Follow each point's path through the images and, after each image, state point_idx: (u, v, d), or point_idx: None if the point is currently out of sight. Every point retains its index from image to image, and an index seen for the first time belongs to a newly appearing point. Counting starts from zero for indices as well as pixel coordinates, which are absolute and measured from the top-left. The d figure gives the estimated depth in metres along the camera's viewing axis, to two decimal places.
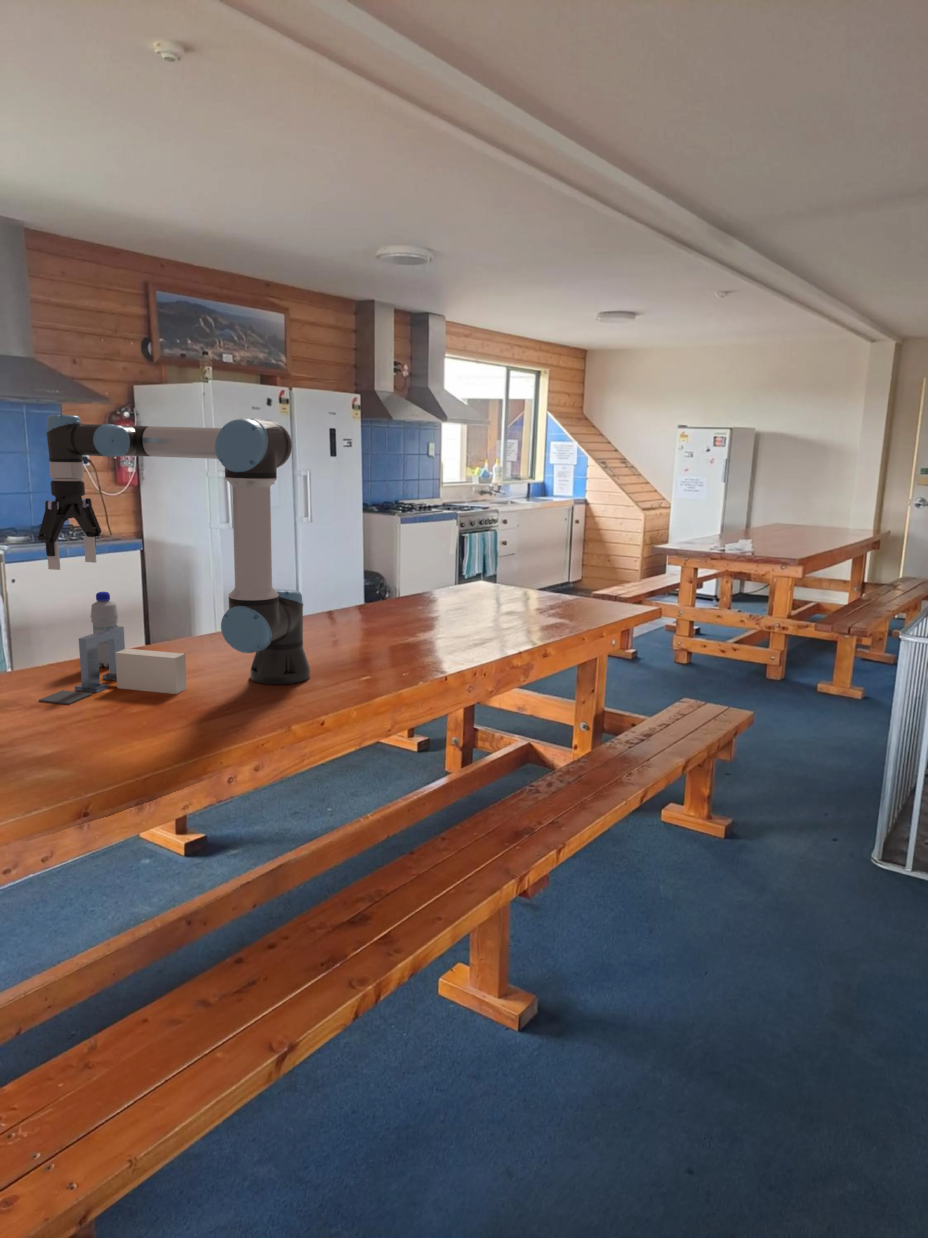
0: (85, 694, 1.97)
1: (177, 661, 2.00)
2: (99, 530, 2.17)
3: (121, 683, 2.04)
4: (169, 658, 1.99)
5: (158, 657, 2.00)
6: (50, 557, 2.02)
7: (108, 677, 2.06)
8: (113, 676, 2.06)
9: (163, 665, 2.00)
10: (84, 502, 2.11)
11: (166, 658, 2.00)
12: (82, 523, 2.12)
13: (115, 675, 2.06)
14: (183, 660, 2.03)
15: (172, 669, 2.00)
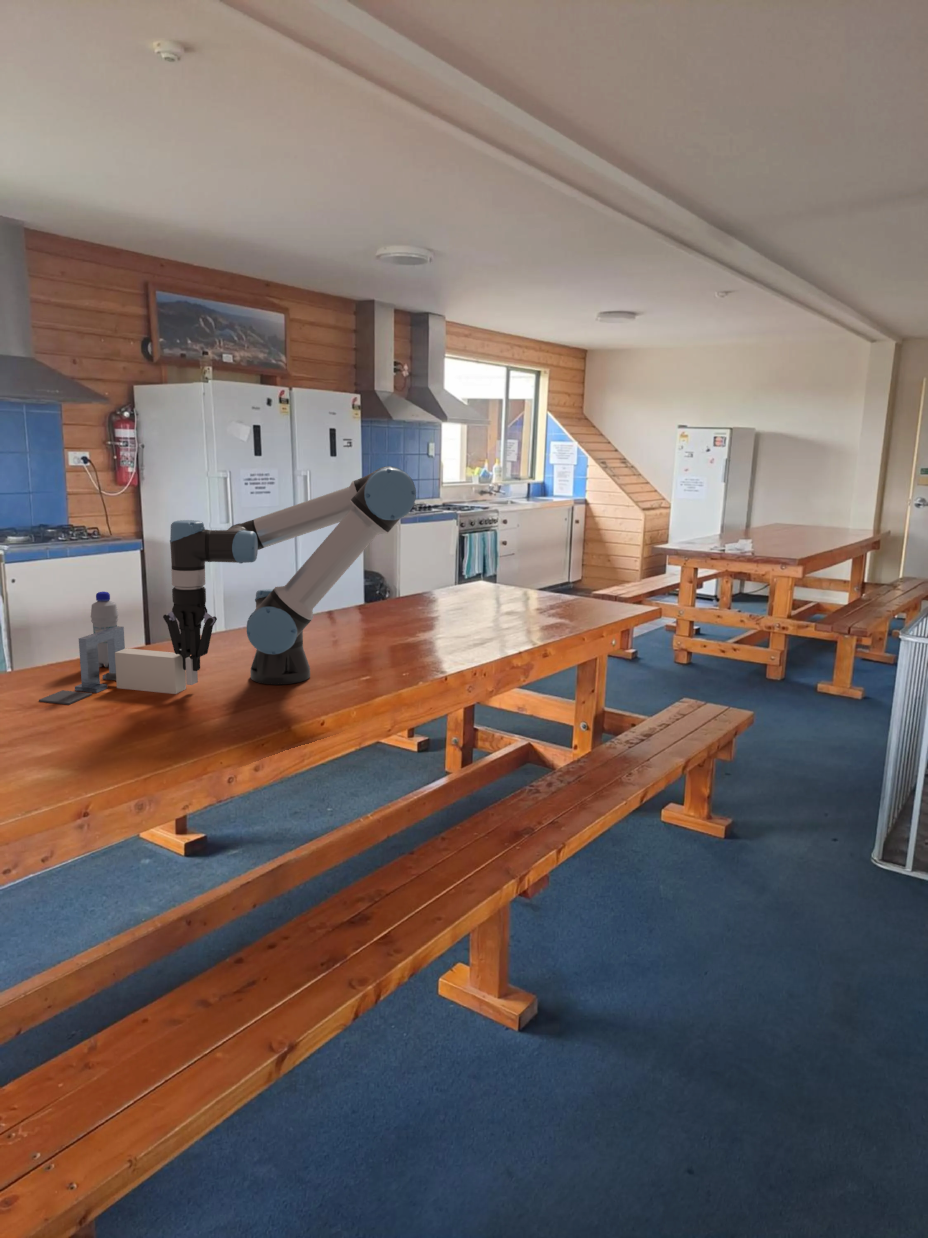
0: (85, 694, 1.97)
1: (177, 661, 2.00)
2: (199, 653, 1.98)
3: (121, 682, 2.04)
4: (169, 658, 1.99)
5: (158, 657, 2.00)
6: None
7: (108, 677, 2.06)
8: (112, 676, 2.06)
9: (162, 665, 2.00)
10: (206, 618, 1.97)
11: (166, 658, 2.00)
12: None
13: (115, 675, 2.06)
14: None
15: (171, 669, 2.00)
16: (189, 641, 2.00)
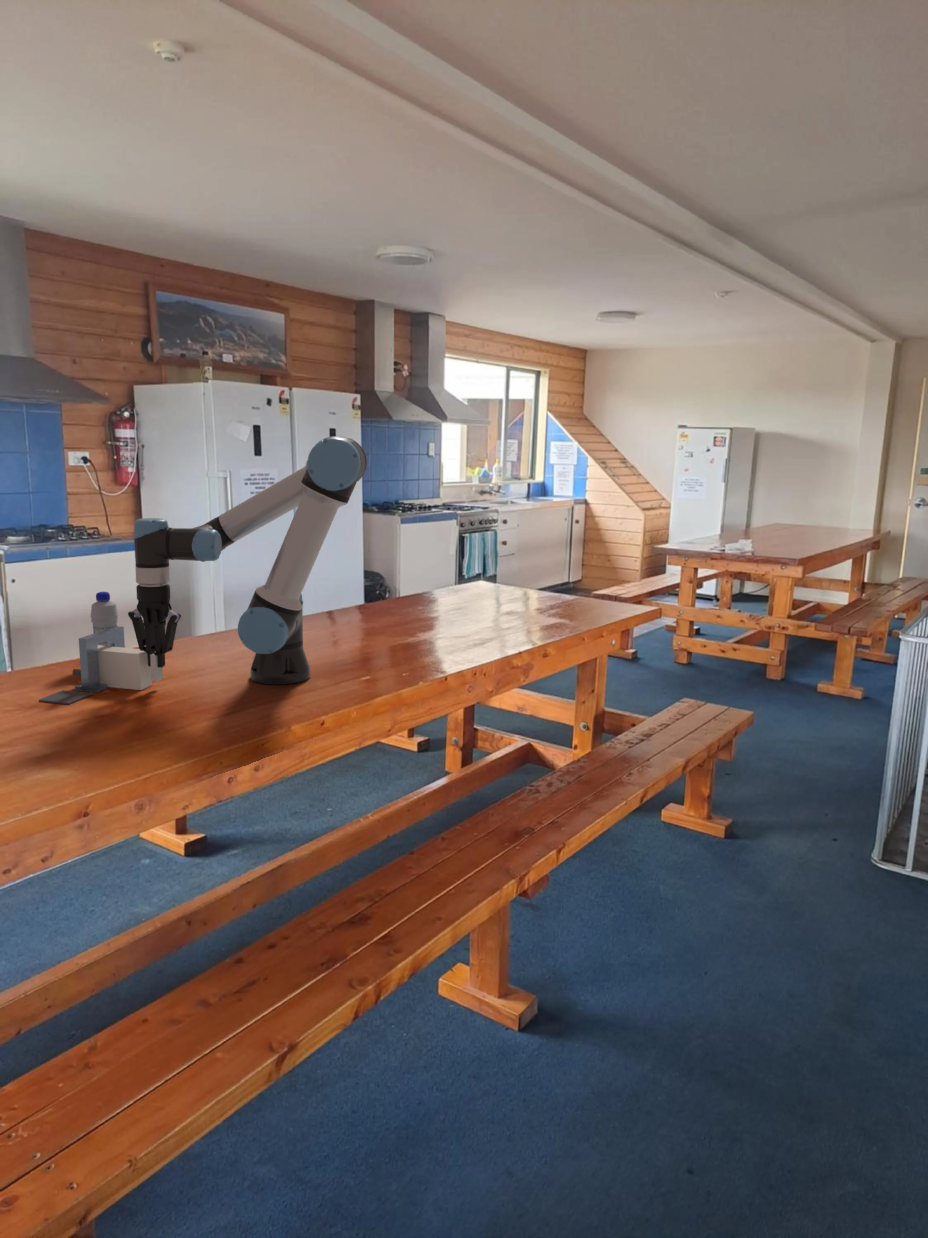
0: (85, 694, 1.97)
1: (142, 657, 2.02)
2: (164, 649, 2.00)
3: None
4: (133, 654, 2.01)
5: (123, 653, 2.02)
6: None
7: (74, 673, 2.08)
8: (79, 672, 2.08)
9: (128, 661, 2.02)
10: (171, 615, 1.99)
11: (130, 654, 2.02)
12: None
13: None
14: None
15: (136, 665, 2.02)
16: (154, 638, 2.02)
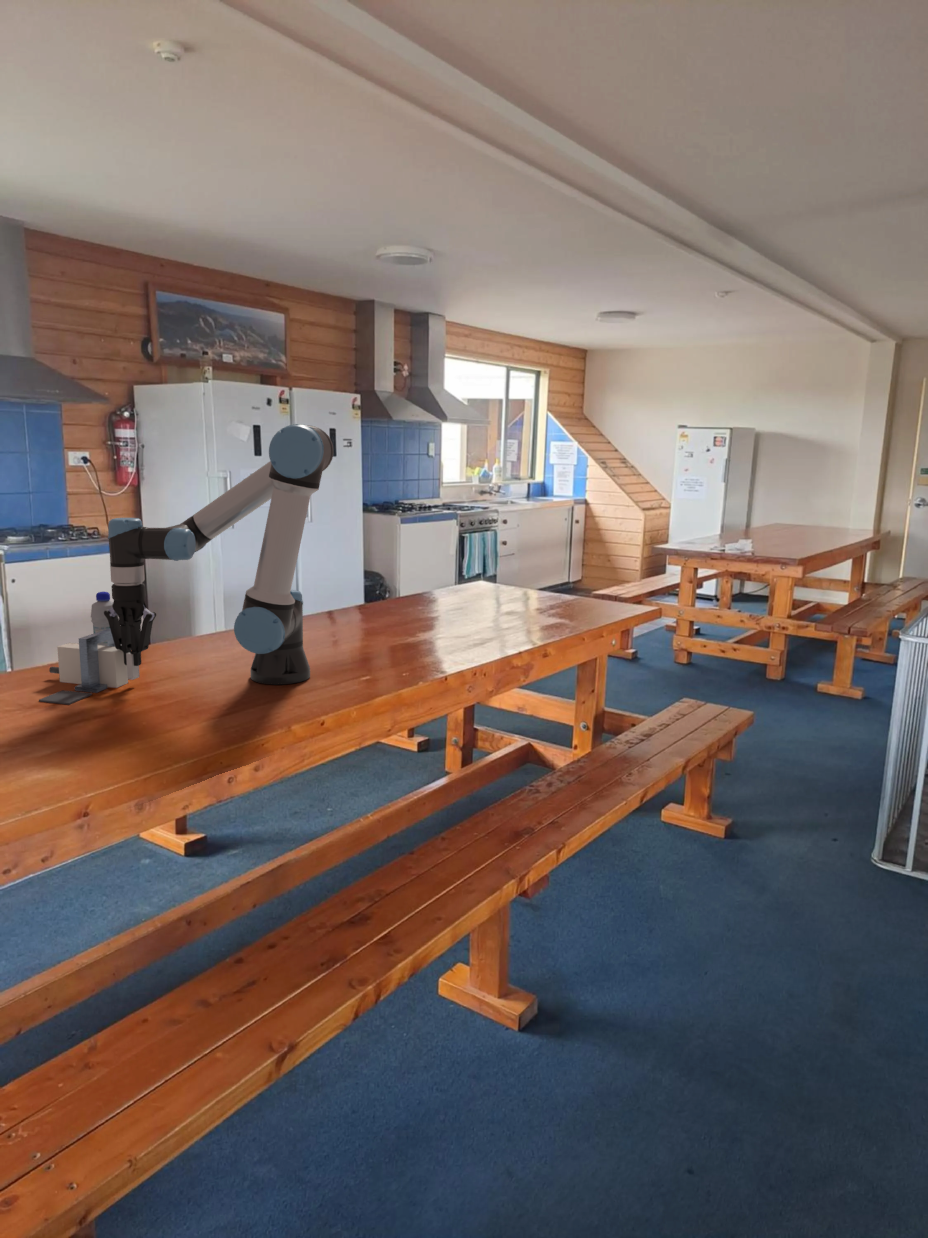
0: (85, 694, 1.97)
1: (118, 655, 2.04)
2: (139, 648, 2.02)
3: (64, 676, 2.07)
4: (109, 652, 2.03)
5: (98, 651, 2.04)
6: None
7: (51, 671, 2.10)
8: (56, 670, 2.09)
9: (103, 659, 2.04)
10: (146, 614, 2.01)
11: (106, 652, 2.03)
12: None
13: (58, 669, 2.09)
14: None
15: (112, 662, 2.03)
16: (130, 636, 2.04)
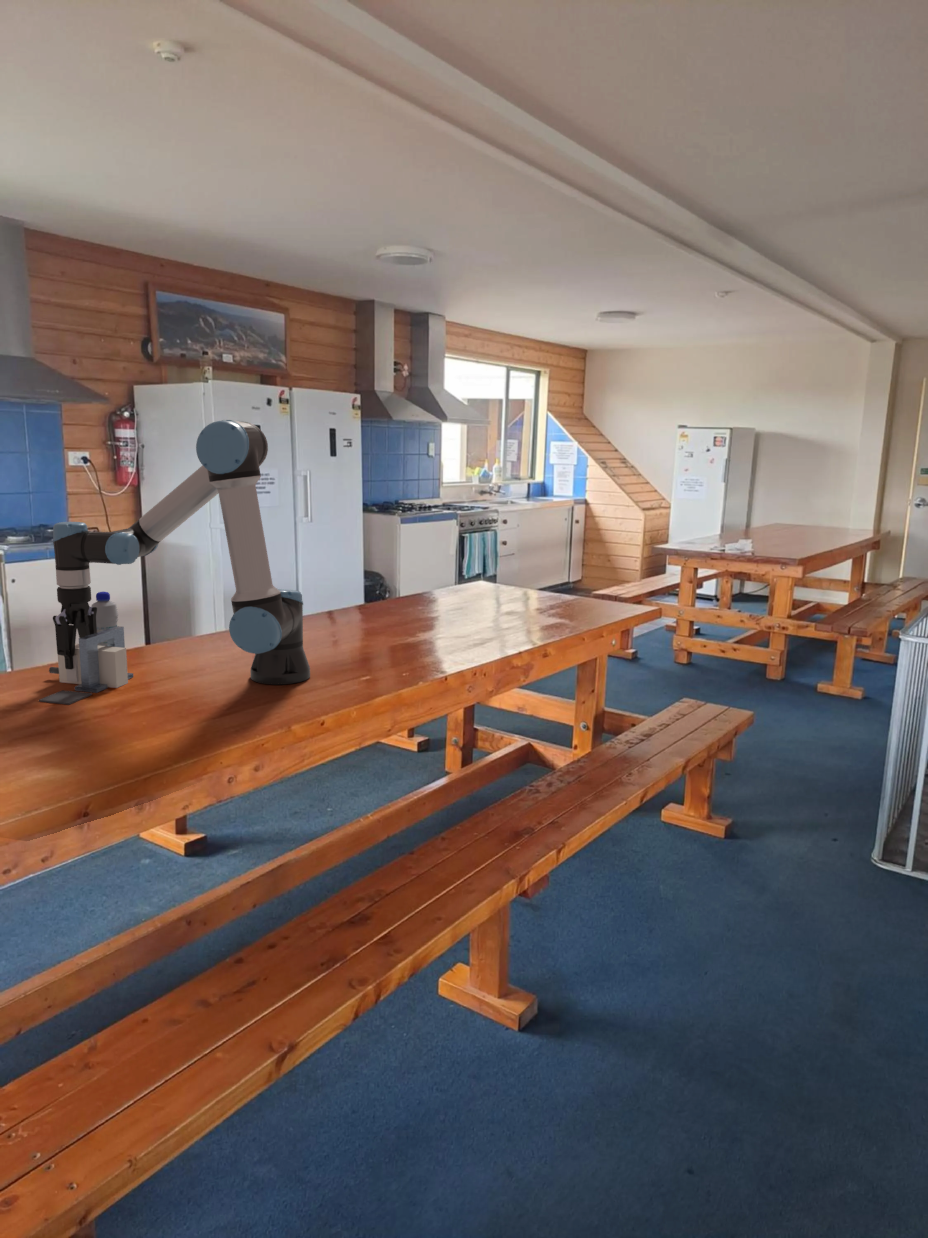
0: (85, 694, 1.97)
1: (118, 655, 2.04)
2: None
3: (63, 676, 2.07)
4: (109, 652, 2.03)
5: (98, 651, 2.03)
6: (69, 669, 2.05)
7: (51, 671, 2.09)
8: (56, 670, 2.09)
9: (103, 659, 2.04)
10: (90, 609, 2.10)
11: (106, 652, 2.03)
12: (81, 632, 2.08)
13: (58, 669, 2.09)
14: (124, 654, 2.06)
15: (112, 663, 2.03)
16: None
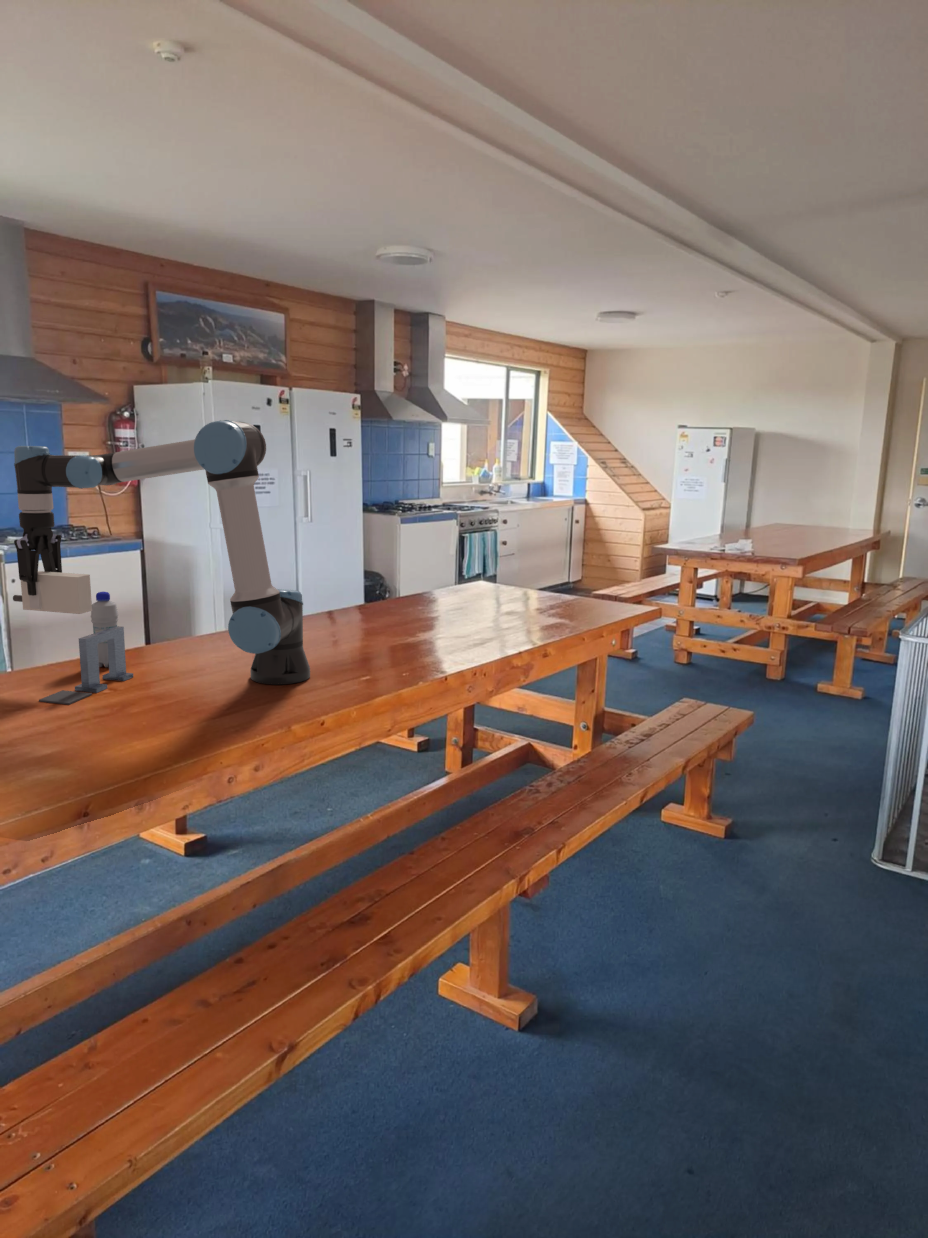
0: (85, 694, 1.97)
1: (81, 581, 2.02)
2: (60, 571, 2.10)
3: (27, 603, 2.05)
4: (72, 577, 2.01)
5: (61, 576, 2.01)
6: (32, 596, 2.03)
7: (15, 599, 2.07)
8: (19, 598, 2.07)
9: (66, 585, 2.01)
10: (54, 537, 2.08)
11: (69, 577, 2.01)
12: (45, 559, 2.06)
13: (21, 597, 2.07)
14: (87, 580, 2.04)
15: (75, 588, 2.01)
16: None
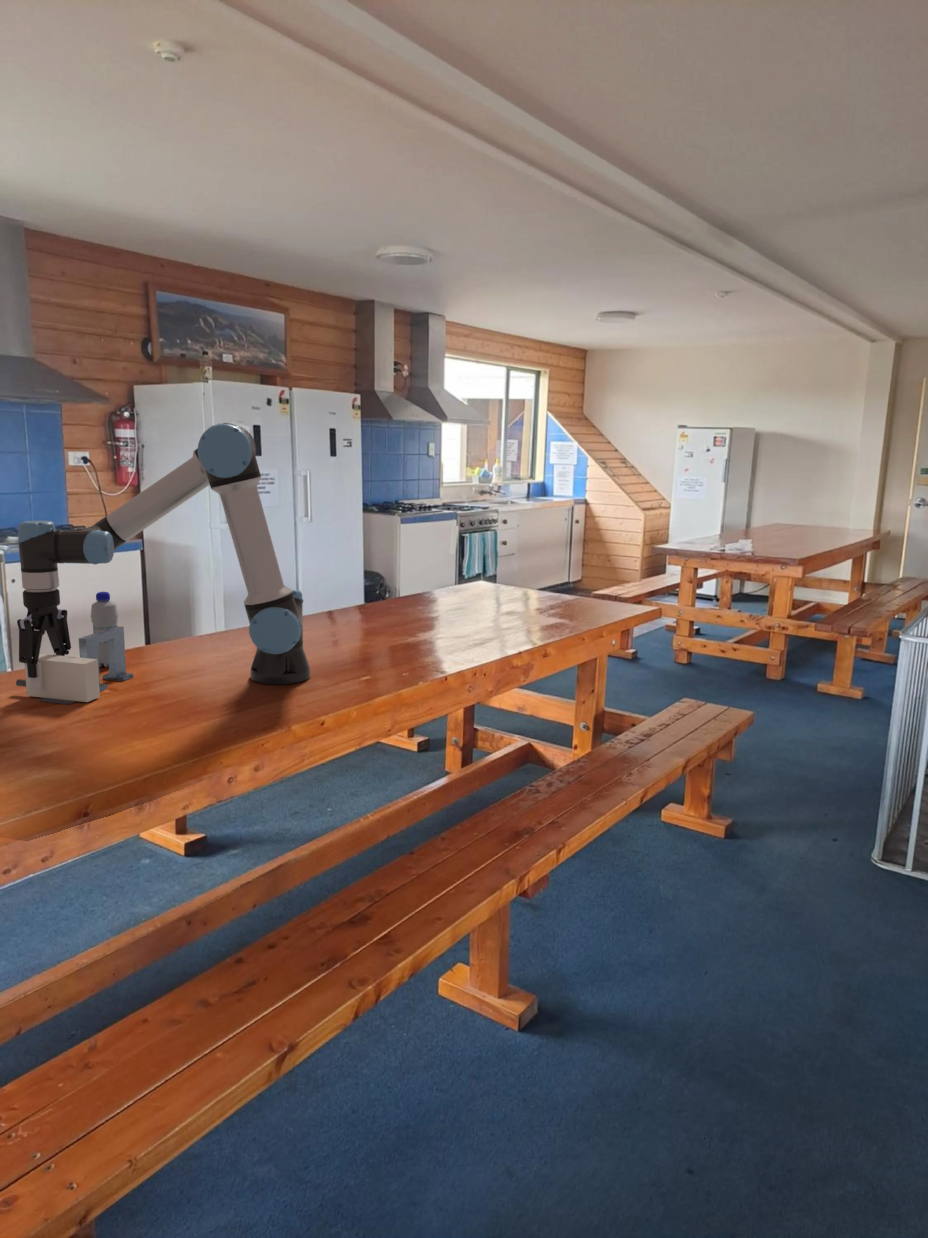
0: None
1: (88, 667, 1.91)
2: (69, 646, 2.00)
3: None
4: (79, 664, 1.90)
5: (68, 663, 1.91)
6: (32, 678, 1.91)
7: (18, 684, 1.97)
8: (23, 683, 1.96)
9: (73, 672, 1.91)
10: (59, 613, 1.97)
11: (76, 664, 1.90)
12: (52, 637, 1.96)
13: (25, 682, 1.96)
14: (95, 666, 1.93)
15: (82, 675, 1.90)
16: None
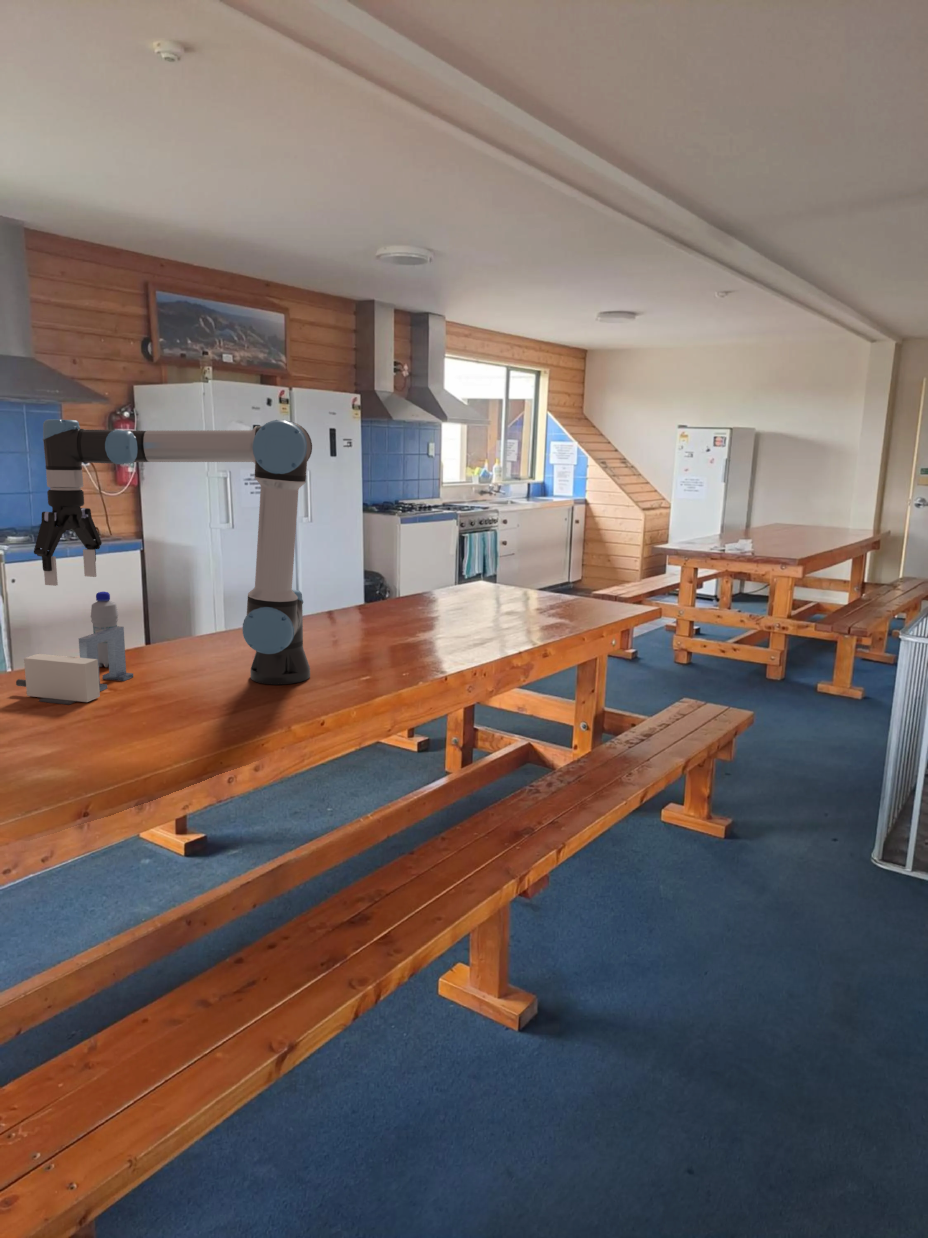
0: None
1: (88, 667, 1.91)
2: (99, 542, 2.03)
3: (31, 690, 1.94)
4: (79, 664, 1.90)
5: (68, 663, 1.91)
6: (47, 572, 1.88)
7: (18, 684, 1.97)
8: (23, 683, 1.96)
9: (73, 672, 1.91)
10: (83, 512, 1.97)
11: (76, 664, 1.90)
12: (81, 535, 1.98)
13: (25, 682, 1.96)
14: (95, 666, 1.93)
15: (82, 675, 1.90)
16: None
